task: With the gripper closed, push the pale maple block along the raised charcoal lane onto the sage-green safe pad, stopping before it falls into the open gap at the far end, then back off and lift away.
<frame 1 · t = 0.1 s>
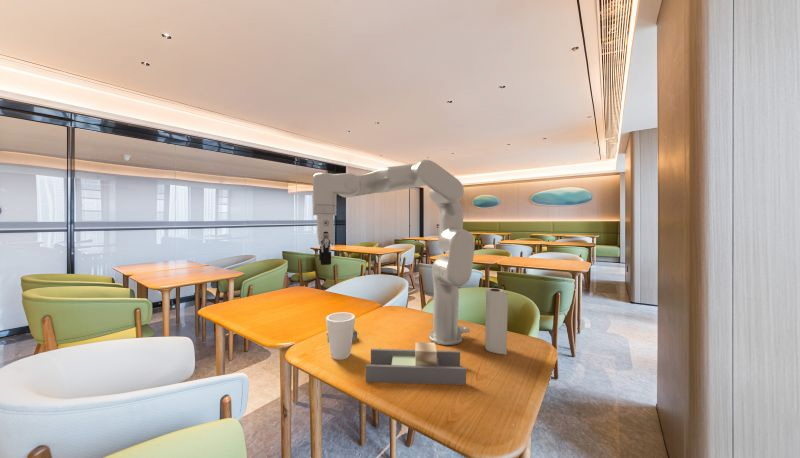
hand: (324, 262, 97), 31 cm above the table, tool pointing down, fingers open, 9 cm apart
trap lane: (415, 372, 87), on the table
paper towel roll: (494, 350, 103), on the table
safe pad: (403, 372, 87), resting in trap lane
maple block: (425, 363, 87), point 3 cm above the table, touching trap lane
foam cup: (340, 355, 98), on the table
egg carton: (342, 341, 110), on the table
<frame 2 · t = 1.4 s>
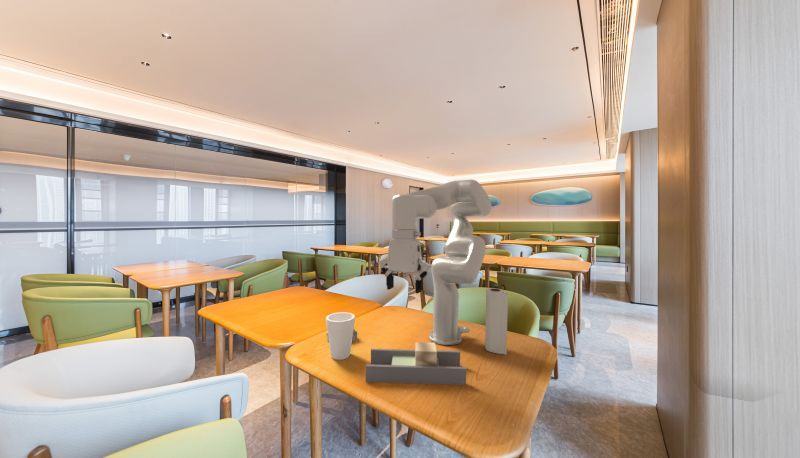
hand: (404, 290, 90), 24 cm above the table, tool pointing down, fingers open, 9 cm apart
nothing on the table moved.
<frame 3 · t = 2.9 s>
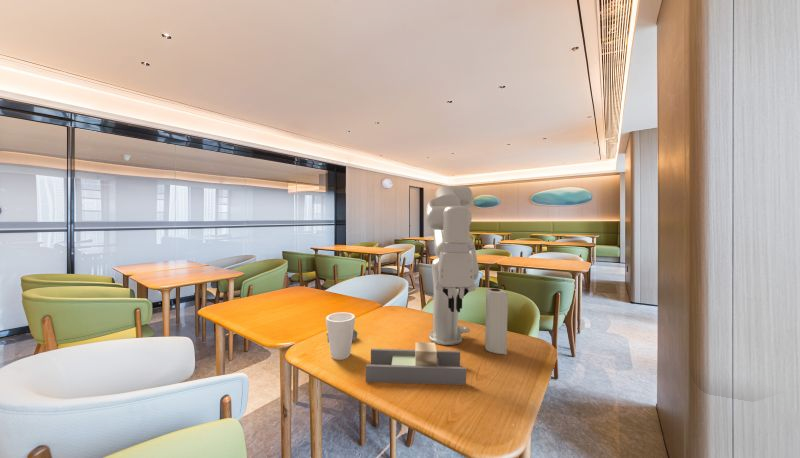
hand: (455, 310, 86), 19 cm above the table, tool pointing down, fingers closed
nothing on the table moved.
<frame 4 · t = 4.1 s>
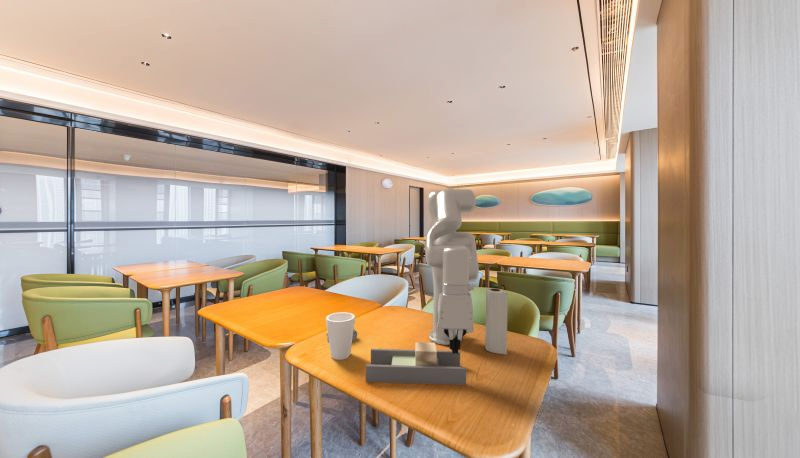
hand: (454, 351, 86), 7 cm above the table, tool pointing down, fingers closed
nothing on the table moved.
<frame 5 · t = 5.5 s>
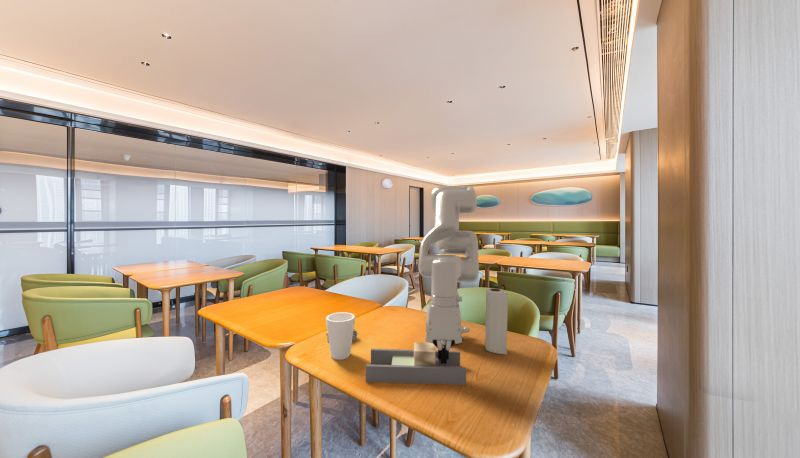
hand: (443, 361, 87), 4 cm above the table, tool pointing down, fingers closed
maple block: (424, 363, 87), point 3 cm above the table, touching gripper
everything else where it was.
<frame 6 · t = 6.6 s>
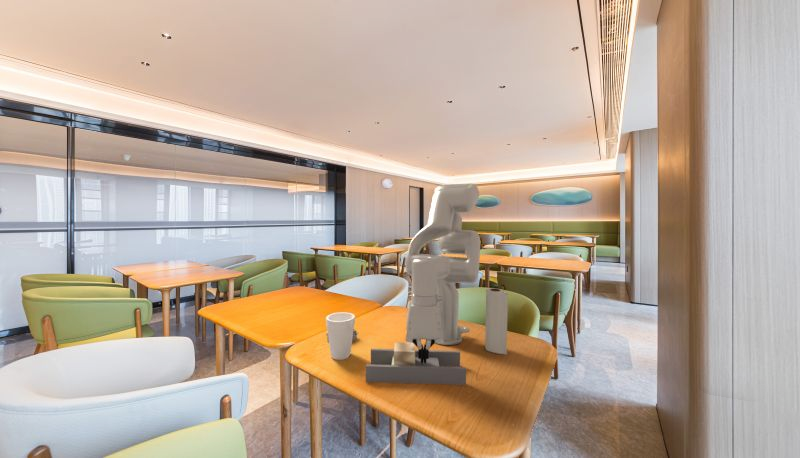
hand: (423, 360, 87), 4 cm above the table, tool pointing down, fingers closed
maple block: (404, 363, 87), point 3 cm above the table, touching gripper
everything else where it was.
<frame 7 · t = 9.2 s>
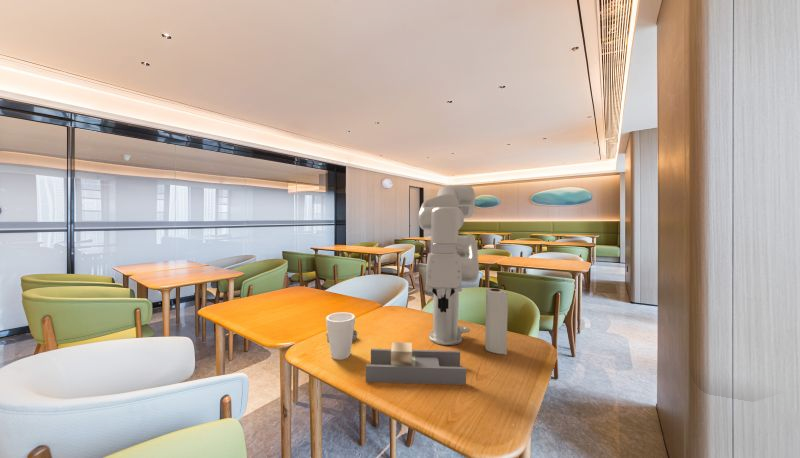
hand: (443, 310, 86), 19 cm above the table, tool pointing down, fingers closed
maple block: (401, 363, 87), point 3 cm above the table, touching safe pad
everything else where it was.
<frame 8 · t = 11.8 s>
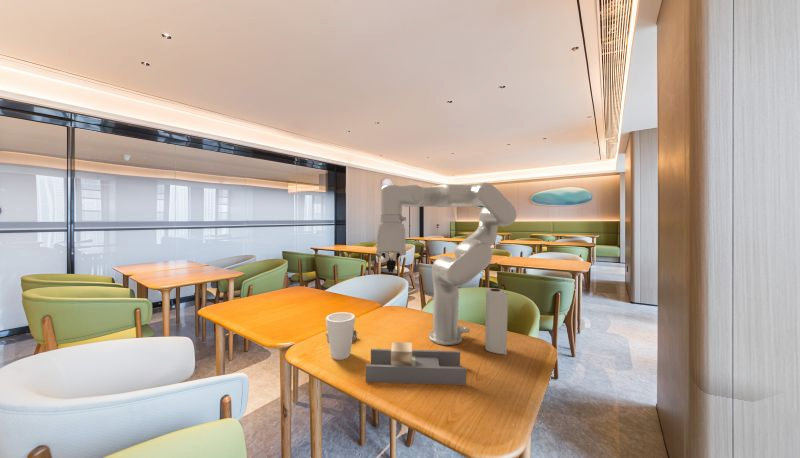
hand: (390, 271, 105), 27 cm above the table, tool pointing down, fingers closed
nothing on the table moved.
at the end: maple block 0.8 cm from the safe pad (horizontally); maple block point 3.0 cm above the table; maple block tilted 0° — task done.
